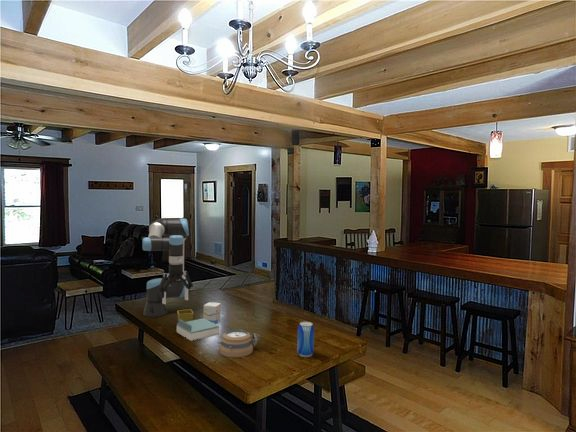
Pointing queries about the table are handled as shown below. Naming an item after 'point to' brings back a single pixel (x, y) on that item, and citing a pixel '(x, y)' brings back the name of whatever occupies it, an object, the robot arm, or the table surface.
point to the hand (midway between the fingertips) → (175, 301)
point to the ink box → (212, 312)
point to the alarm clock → (237, 343)
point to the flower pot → (185, 315)
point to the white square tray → (197, 333)
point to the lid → (196, 325)
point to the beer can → (305, 339)
